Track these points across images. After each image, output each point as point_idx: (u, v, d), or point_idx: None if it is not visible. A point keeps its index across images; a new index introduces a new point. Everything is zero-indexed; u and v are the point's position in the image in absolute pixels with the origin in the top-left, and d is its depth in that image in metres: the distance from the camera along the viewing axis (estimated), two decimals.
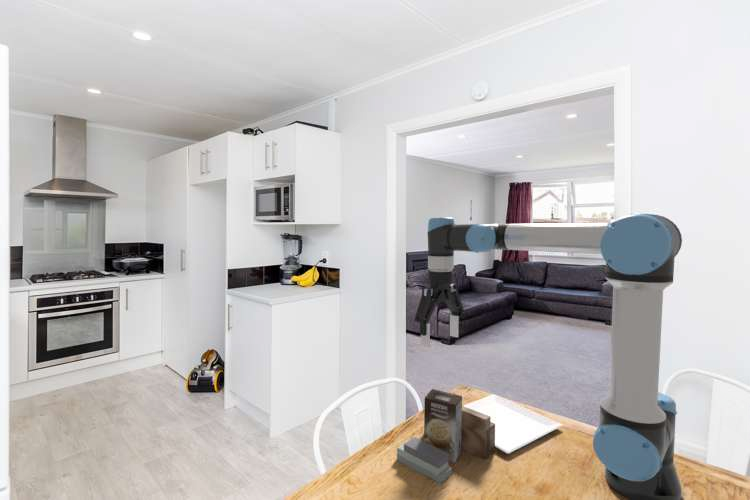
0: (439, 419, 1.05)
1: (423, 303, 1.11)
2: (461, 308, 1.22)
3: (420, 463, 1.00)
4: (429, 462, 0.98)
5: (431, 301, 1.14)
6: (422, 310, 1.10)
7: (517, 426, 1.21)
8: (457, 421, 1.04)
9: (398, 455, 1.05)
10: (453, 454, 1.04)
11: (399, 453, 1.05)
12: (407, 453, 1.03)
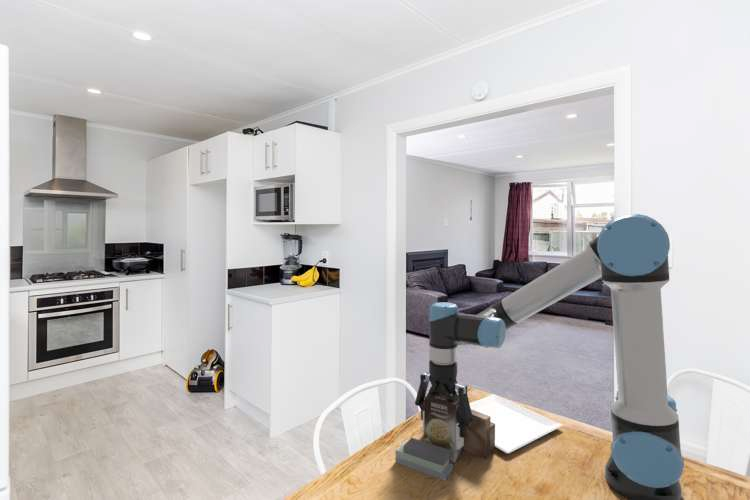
0: (439, 419, 1.05)
1: None
2: (465, 420, 1.01)
3: (422, 463, 1.00)
4: (432, 461, 0.99)
5: None
6: None
7: (517, 426, 1.21)
8: (457, 421, 1.04)
9: (397, 457, 1.04)
10: (453, 454, 1.04)
11: (398, 455, 1.04)
12: (408, 454, 1.02)
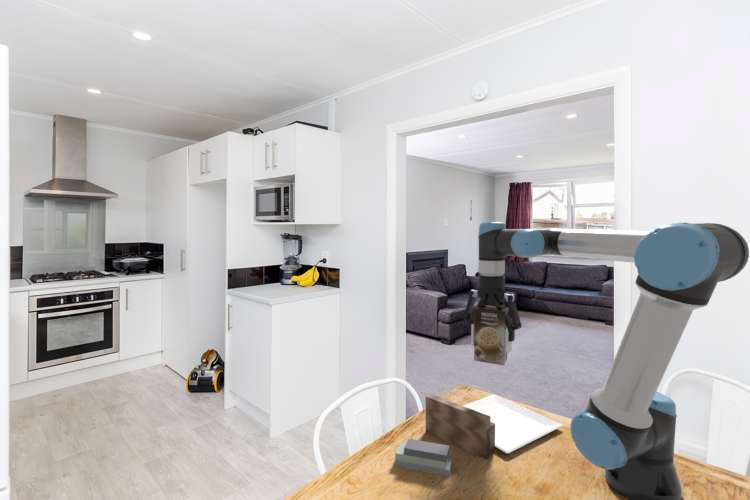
0: (489, 327, 1.15)
1: None
2: (514, 324, 1.12)
3: (425, 462, 1.00)
4: (435, 459, 0.99)
5: None
6: None
7: (517, 426, 1.21)
8: (506, 328, 1.15)
9: (397, 461, 1.03)
10: (503, 357, 1.14)
11: (398, 458, 1.02)
12: (409, 456, 1.02)
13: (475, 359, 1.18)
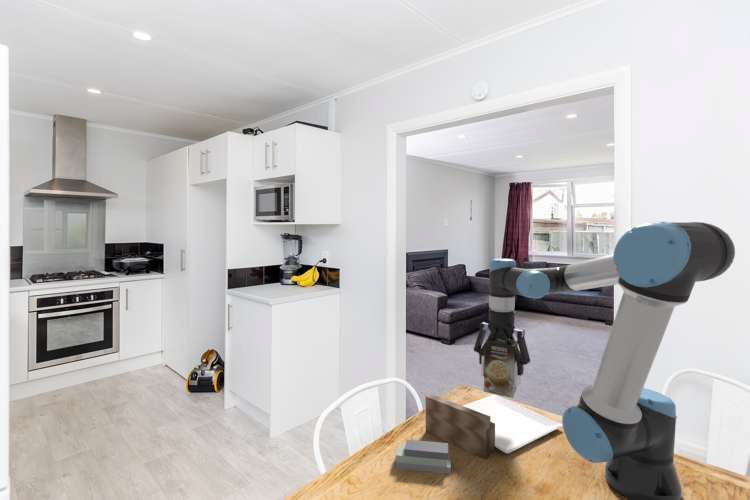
0: (498, 360, 1.19)
1: None
2: (523, 359, 1.16)
3: (426, 462, 1.01)
4: (437, 457, 1.00)
5: None
6: None
7: (517, 426, 1.21)
8: (515, 361, 1.19)
9: (397, 463, 1.02)
10: (512, 390, 1.18)
11: (399, 460, 1.02)
12: (410, 457, 1.01)
13: (485, 390, 1.22)
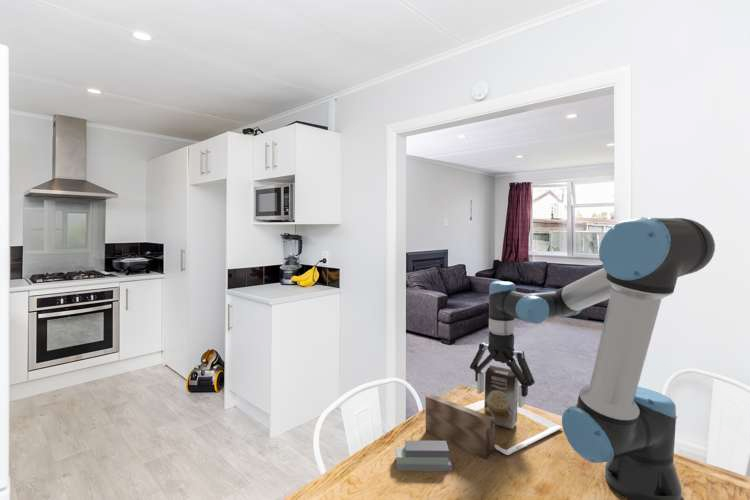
0: (498, 391, 1.20)
1: None
2: (527, 381, 1.15)
3: (427, 461, 1.01)
4: (438, 455, 1.01)
5: None
6: None
7: None
8: (515, 392, 1.19)
9: (399, 465, 1.01)
10: (512, 421, 1.18)
11: (400, 462, 1.01)
12: (411, 457, 1.01)
13: None
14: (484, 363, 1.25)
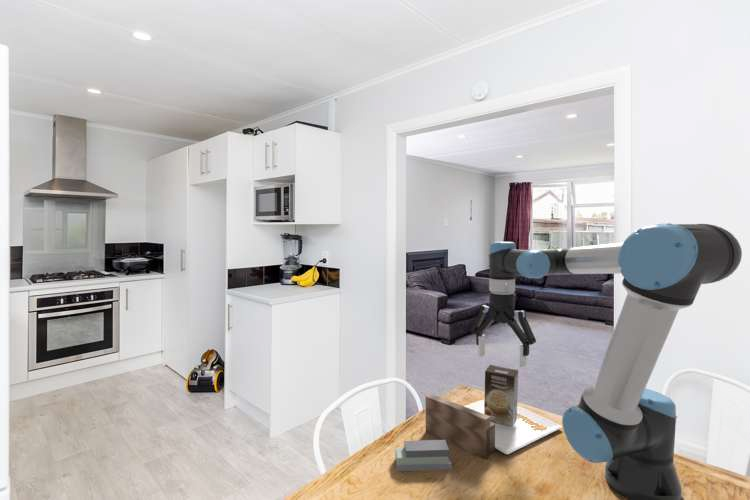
0: (498, 390, 1.20)
1: None
2: (528, 339, 1.14)
3: (427, 461, 1.01)
4: (438, 455, 1.01)
5: None
6: None
7: (517, 427, 1.21)
8: (515, 391, 1.19)
9: (399, 465, 1.01)
10: (512, 420, 1.18)
11: (400, 463, 1.01)
12: (411, 458, 1.01)
13: None
14: (485, 325, 1.24)
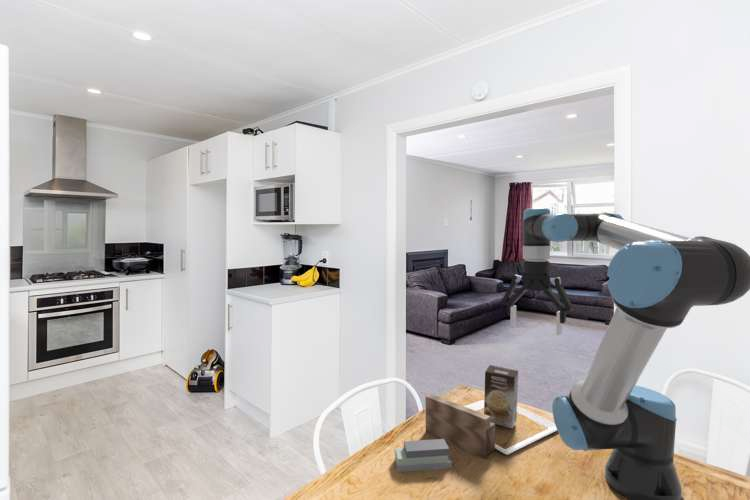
0: (498, 390, 1.20)
1: None
2: (566, 306, 1.12)
3: (428, 460, 1.01)
4: (438, 454, 1.01)
5: None
6: None
7: None
8: (515, 392, 1.19)
9: (400, 466, 1.00)
10: (511, 421, 1.18)
11: (401, 463, 1.00)
12: (412, 458, 1.01)
13: None
14: (518, 295, 1.21)
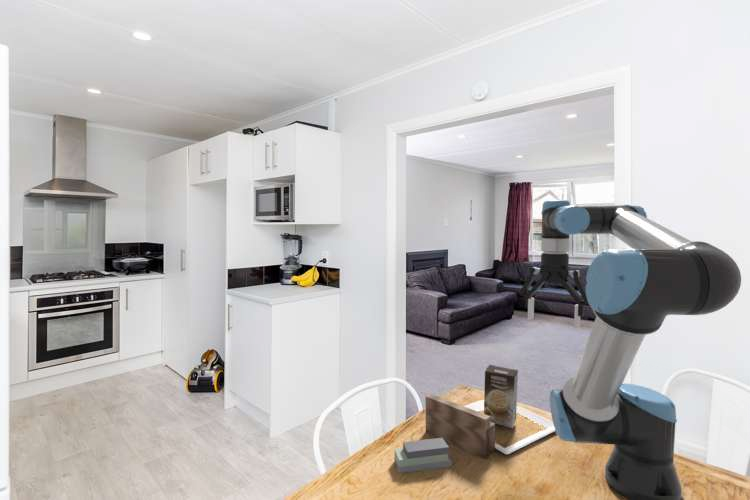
0: (498, 390, 1.20)
1: None
2: (584, 299, 1.11)
3: (428, 460, 1.01)
4: (438, 453, 1.02)
5: None
6: None
7: None
8: (515, 391, 1.19)
9: (401, 467, 1.00)
10: (511, 420, 1.18)
11: (402, 464, 1.00)
12: (413, 458, 1.00)
13: None
14: (535, 287, 1.21)
